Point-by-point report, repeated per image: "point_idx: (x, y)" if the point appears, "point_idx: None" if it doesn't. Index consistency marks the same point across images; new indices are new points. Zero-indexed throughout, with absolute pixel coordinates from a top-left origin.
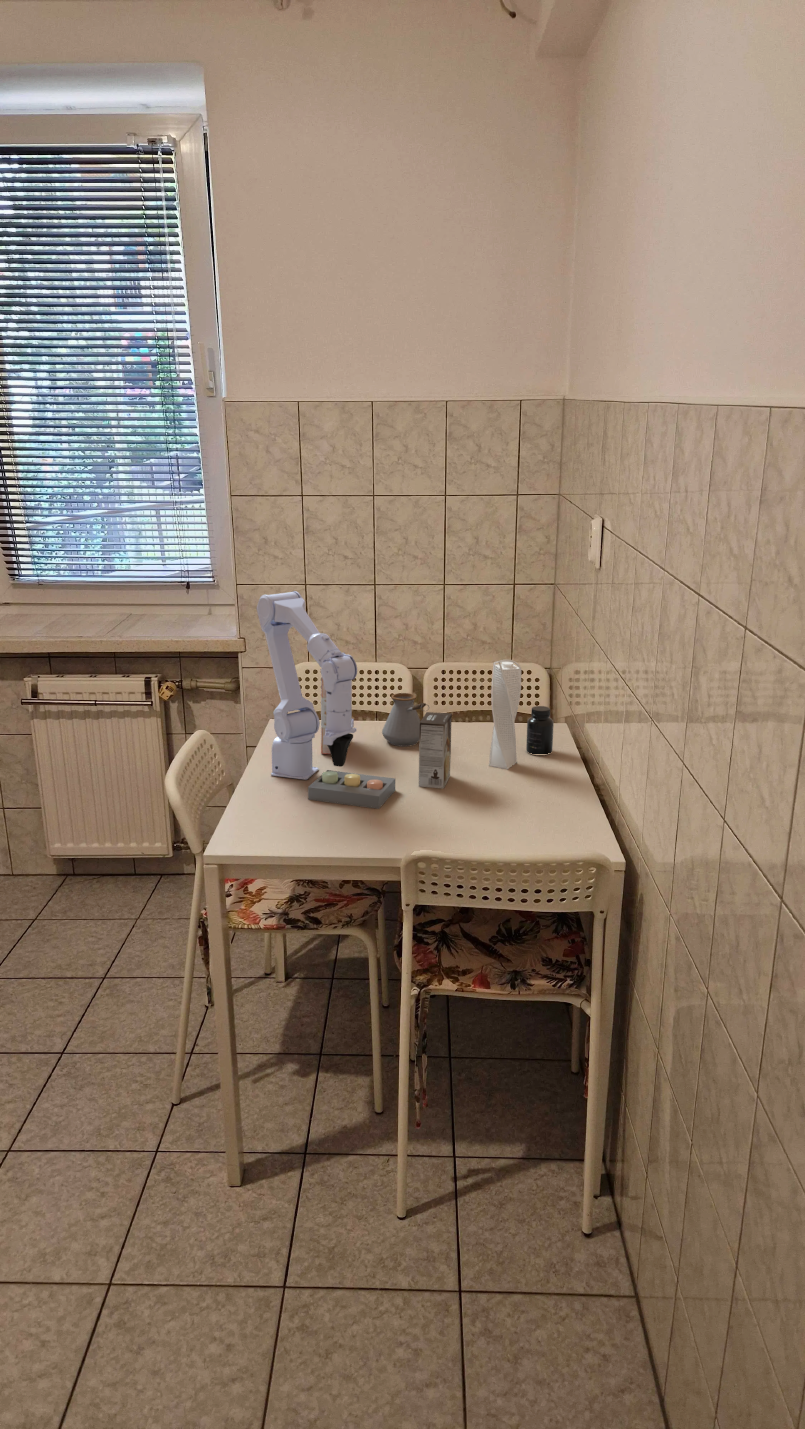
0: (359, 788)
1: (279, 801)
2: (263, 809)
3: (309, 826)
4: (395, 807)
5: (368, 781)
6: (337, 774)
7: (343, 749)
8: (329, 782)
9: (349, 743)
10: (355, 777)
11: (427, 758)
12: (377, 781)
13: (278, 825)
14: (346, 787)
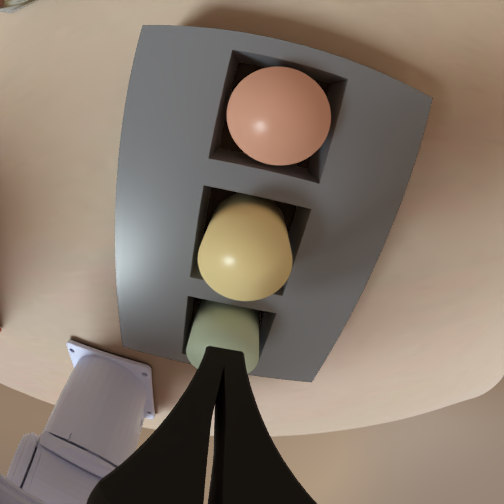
0: (332, 199)
1: (319, 394)
2: (365, 404)
3: (482, 304)
4: (377, 29)
5: (269, 157)
6: (224, 331)
7: (286, 465)
8: (258, 335)
9: (156, 461)
10: (257, 244)
11: None
12: (261, 100)
13: (454, 359)
14: (318, 264)
